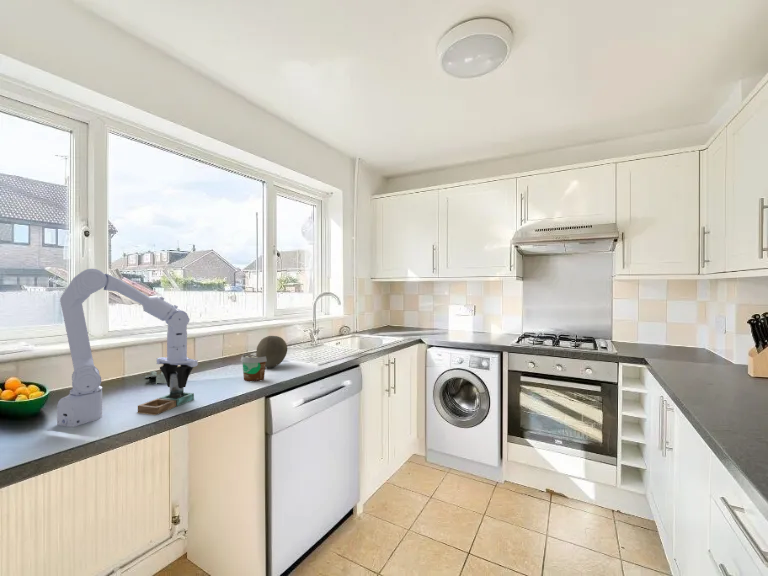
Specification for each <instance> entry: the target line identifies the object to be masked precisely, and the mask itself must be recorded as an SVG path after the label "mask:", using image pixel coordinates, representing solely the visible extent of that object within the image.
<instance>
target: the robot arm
mask: <svg viewBox="0 0 768 576" xmlns="http://www.w3.org/2000/svg"><path fill="white" fill-rule="evenodd" d="M99 290H103V291H110V292H115V293H118V294H120V295H123V296H124V297H126V298H129V299H130V300H132V301H134V302H136V303H138V304H140V305H142V310H143V312H146V314H149V315H150V316H153V317H154V318H156V319H158V320H160V321H162V322H165V323H166V325H167V332H166V336H167V337H166V357H164V356H163V357H158V358H156V365H162V366H159V370H160V372H162V373H163V374H164V376H165V379H166V384H167V388H170V373H172V372H177V375H178V385H179V388H183V387H184V388H186V386H187V383H188V379H189V376H190V375H191V372H192V370H193V368H194V367H197V366H198V362H199V361H198V359H193V358H189V357H188V332H187V331H188V330H187V329H188V326H187V325H189V323H190V318H189V314H188V313H187V312H186V311H184V310H182V309H179V308H178V305H175V304H174V305H172V304H171V303H170V302H167V301H166V300H165V297H163V296H161V295H159V296H157V295H152V296H148V295H147V294H145V293H143V292H142V291H141V290H138V289H137V288H135V287H133V286H132V285H130V284H129V283H127V282H125V281H123V280H122V279H121V278H118V277H116V276H113V275H111V274H108V273H104V272H103V271H102V270H100V269H98V268H88V269H84V270H83V271H81V272H79V273H78V274H77V275H75V276H74V277H73V278H72V279H71V281H70V283H69V284H68V286H67V287H66V288H65V290H64V292H63V293H62V295H61V296H60V297H59V298H60V299H59V301H60V307H61V311H62V316H63V321H64V325H65V331H66V337H67V341H68V346H69V351H70V357H71V361H72V365H73V366H72V368H73V372H72V374H71V387H72V388H71V389H70V390H69V394H68V395H66V396H63V397H61V398H60V399H59V400H58V402H57V406H56V410H57V411H56V414H57V415H56V425H57V426H62V427H63V426H64V427H69V428H75V427H78V426H81V425H83V424H86V423H90V422H94V421H97V420H100V419H101V418H102V417H103V386H101V383H102V377H101V375H100V371H99V368H97V367H96V365H95V363H94V358H93V353H92V349H91V343H90V338H89V332H88V328H87V323H86V317H85V313H84V308H83V307H84V306H83V303H84V302H86V300H87V299H88V298H89V297H91V295H92V294H94V293H97V292H98V291H99Z"/></svg>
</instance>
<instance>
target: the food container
mask: <svg viewBox="0 0 768 576" xmlns="http://www.w3.org/2000/svg"><path fill="white" fill-rule="evenodd" d="M266 361H267V359H266V356H265V357H257V356H256V355H251V356H250V355H248V353H244V354H242V355H241V358H240V362H242V374H243V381H245V382H250V381H254V382H261V381H260V380H262V381H265V374H266V367H265V363H266Z"/></svg>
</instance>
